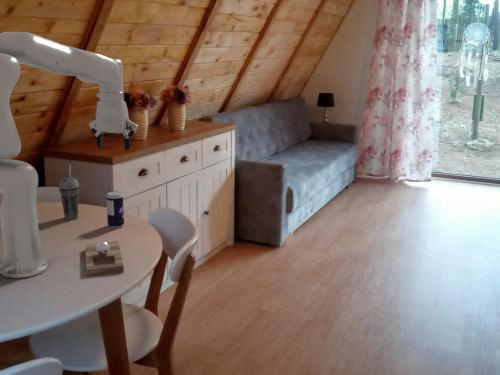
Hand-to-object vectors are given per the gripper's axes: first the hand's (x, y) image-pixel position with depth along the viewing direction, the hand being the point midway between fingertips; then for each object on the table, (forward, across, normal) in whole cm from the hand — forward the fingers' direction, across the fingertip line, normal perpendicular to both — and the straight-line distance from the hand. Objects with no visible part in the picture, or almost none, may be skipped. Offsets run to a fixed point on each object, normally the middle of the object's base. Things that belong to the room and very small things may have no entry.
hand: (114, 148), depth 184 cm
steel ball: (+24, +9, -27) cm, 38 cm away
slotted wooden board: (+28, +9, -27) cm, 40 cm away
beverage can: (+28, -2, +2) cm, 28 cm away
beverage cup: (+28, -22, +6) cm, 36 cm away
